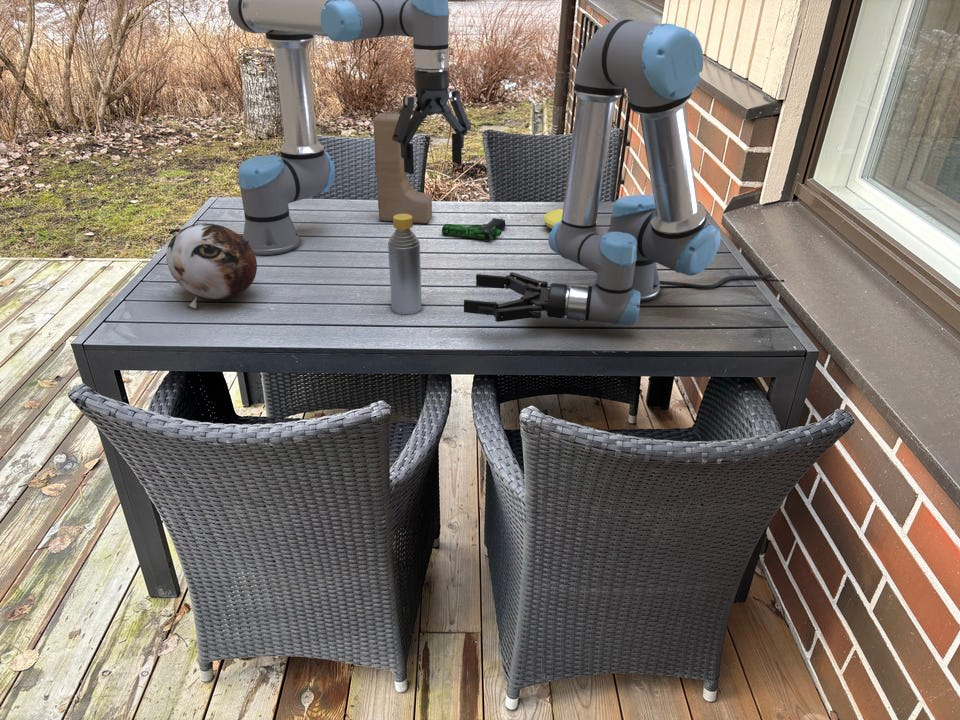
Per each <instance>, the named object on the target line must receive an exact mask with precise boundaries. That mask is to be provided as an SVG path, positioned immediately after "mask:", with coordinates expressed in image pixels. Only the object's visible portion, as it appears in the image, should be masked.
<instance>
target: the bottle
mask: <svg viewBox="0 0 960 720" xmlns="http://www.w3.org/2000/svg"><path fill="white" fill-rule="evenodd" d="M387 251H388V268H389V271H388V272H389V289H390V304H391V305H390V307H391V310H392V312H394V313H396V314H399V315H414V314H416V313H419V312H420V311H421V310H422V308H423V306H422V305H423V304H422V273H421V271H422V270H421V241H420V239H419V237H418V236H417V235H416V234H415V233H414V231H413V230H412V228H410V229H406V230H400V229H396V228H395V230H394V232H393V233H392V235H391V236H390V238H389V239H388V242H387Z"/></svg>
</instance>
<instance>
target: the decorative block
mask: <svg viewBox="0 0 960 720" xmlns="http://www.w3.org/2000/svg"><path fill="white" fill-rule="evenodd" d="M399 116H400V113H393V112H392V113H391V112H390V113H389V112H380V113H378V114H376V115H375V117H373V118H372V125H373V126H372V127H373V142H374V159H375V174H376V175H375V177H376V186H377V187H376V192H377V206H378V219H379V221H381V222H393V216H394V215H397V214H409V215H411V216H412V219H413V224H428V223H429V222H430V219H431V218H432V216H433V196H432V194H430V193H425V192H421V191H417V190H416V189H415V188H413V187H412V186H411V183H410V182H409V179H408V177H407V174H408V173H407V172H404V159H403V158H402V157H401V145H400V143H399V142H396V141H393V140H392V137H393V134H394V131H395V128H396V125H397V122H398V119H399Z"/></svg>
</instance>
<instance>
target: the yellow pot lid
mask: <svg viewBox="0 0 960 720" xmlns="http://www.w3.org/2000/svg"><path fill="white" fill-rule="evenodd" d="M562 213H563V208H557V209H552V210H549V211H548V212H547V213H545V214H544V216H543V222H544V225H545V226H546V227H548V228H550V229H552V228H553V226H554V225H555V224H556V223H558V222H560V221H562ZM597 223H598V219H597V220H596V225H597Z"/></svg>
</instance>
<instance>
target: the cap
mask: <svg viewBox="0 0 960 720" xmlns="http://www.w3.org/2000/svg"><path fill="white" fill-rule="evenodd" d="M392 223H393V224H392V225H393V226H392V227H393V228H394V229H395V230H396V229H400V230H406V229H412V228H413V227H414V226H413V225H414V223H413V219H412V216H411V215H409V214H397V215H394V216H393V221H392Z"/></svg>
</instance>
